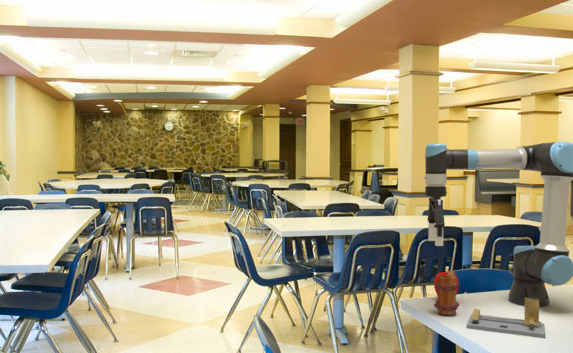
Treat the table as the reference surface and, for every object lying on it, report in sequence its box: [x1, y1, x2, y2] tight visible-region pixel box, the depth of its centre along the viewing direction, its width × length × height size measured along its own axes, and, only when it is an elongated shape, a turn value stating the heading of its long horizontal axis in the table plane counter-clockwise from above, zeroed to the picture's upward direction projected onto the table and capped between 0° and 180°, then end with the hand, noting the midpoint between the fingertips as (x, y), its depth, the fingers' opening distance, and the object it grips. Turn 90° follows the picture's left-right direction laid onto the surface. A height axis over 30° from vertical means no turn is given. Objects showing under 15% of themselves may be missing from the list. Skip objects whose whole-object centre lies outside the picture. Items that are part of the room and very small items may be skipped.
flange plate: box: [466, 314, 546, 339], centre depth 180 cm, size 24×13×1 cm, turn 65°
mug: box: [433, 270, 460, 316], centre depth 199 cm, size 15×8×15 cm, turn 148°
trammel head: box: [523, 297, 540, 329], centre depth 177 cm, size 4×9×8 cm, turn 155°
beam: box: [471, 308, 542, 327], centre depth 179 cm, size 22×7×3 cm, turn 65°
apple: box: [433, 271, 460, 296], centre depth 217 cm, size 10×10×12 cm
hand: (435, 243), depth 195 cm, fingers open, 13 cm apart
